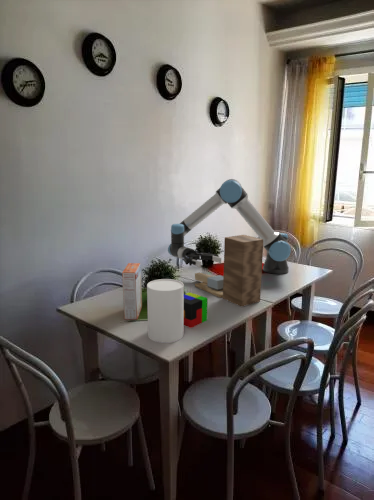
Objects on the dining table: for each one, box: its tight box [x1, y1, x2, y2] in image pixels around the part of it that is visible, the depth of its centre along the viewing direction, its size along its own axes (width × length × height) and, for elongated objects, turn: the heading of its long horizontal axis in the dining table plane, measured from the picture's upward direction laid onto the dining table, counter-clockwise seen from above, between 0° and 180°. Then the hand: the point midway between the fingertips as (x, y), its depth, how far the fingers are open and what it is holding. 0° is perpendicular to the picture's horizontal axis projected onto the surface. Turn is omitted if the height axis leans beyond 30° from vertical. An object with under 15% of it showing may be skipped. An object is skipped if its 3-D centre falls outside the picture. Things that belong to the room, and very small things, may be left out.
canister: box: [146, 278, 185, 344], centre depth 142 cm, size 14×14×20 cm
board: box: [194, 282, 223, 299], centre depth 194 cm, size 13×21×1 cm, turn 35°
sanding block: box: [194, 272, 224, 291], centre depth 198 cm, size 8×22×5 cm, turn 35°
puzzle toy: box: [184, 292, 208, 329], centre depth 155 cm, size 10×10×10 cm
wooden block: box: [222, 234, 264, 308], centre depth 177 cm, size 12×13×30 cm
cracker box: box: [121, 262, 143, 321], centre depth 161 cm, size 14×6×21 cm, turn 178°
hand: (210, 262), depth 196 cm, fingers open, 13 cm apart
